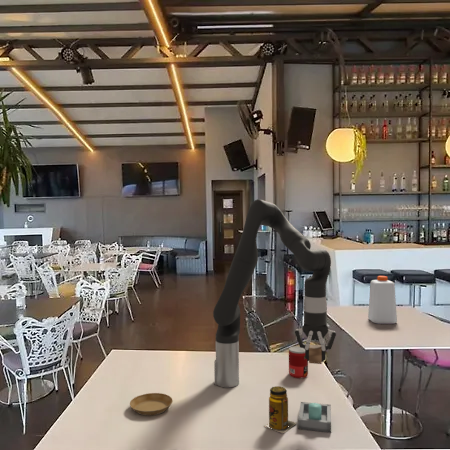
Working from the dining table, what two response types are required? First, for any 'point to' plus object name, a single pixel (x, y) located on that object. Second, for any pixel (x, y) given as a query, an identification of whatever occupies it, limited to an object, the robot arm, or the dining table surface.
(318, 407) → the teal cylinder
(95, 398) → the dining table surface
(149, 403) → the plant saucer
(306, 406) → the collection tray
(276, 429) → the condiment
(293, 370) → the canned food
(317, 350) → the walnut block
